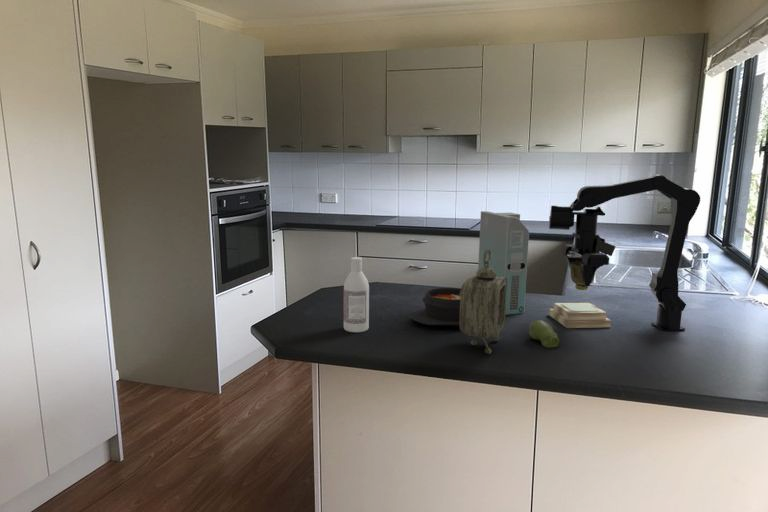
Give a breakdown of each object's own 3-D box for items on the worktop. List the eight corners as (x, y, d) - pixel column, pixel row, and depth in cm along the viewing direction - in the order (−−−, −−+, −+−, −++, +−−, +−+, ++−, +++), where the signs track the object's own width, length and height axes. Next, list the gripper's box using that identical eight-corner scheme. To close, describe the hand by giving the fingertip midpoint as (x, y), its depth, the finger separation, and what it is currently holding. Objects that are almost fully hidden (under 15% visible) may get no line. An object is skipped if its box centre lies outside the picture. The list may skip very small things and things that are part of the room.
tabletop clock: (493, 358, 137) (499, 255, 132) (457, 352, 140) (460, 252, 136) (504, 340, 150) (509, 246, 146) (470, 335, 153) (474, 243, 149)
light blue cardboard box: (524, 313, 176) (530, 216, 170) (502, 315, 173) (507, 217, 168) (496, 300, 191) (501, 210, 185) (476, 301, 188) (480, 211, 183)
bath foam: (350, 324, 162) (351, 254, 158) (372, 327, 159) (373, 257, 156) (339, 330, 156) (339, 258, 152) (361, 334, 153) (362, 261, 149)
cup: (565, 290, 165) (567, 263, 164) (570, 285, 172) (572, 259, 170) (592, 293, 162) (595, 266, 160) (596, 288, 168) (598, 261, 167)
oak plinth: (610, 327, 163) (611, 312, 162) (566, 327, 161) (567, 313, 160) (589, 314, 175) (590, 301, 175) (548, 314, 174) (549, 301, 173)
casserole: (466, 308, 180) (467, 282, 179) (505, 324, 164) (506, 296, 162) (397, 318, 169) (398, 290, 167) (431, 336, 152) (432, 306, 151)
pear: (544, 316, 153) (566, 333, 144) (541, 333, 155) (562, 351, 146) (526, 317, 151) (547, 335, 142) (523, 335, 153) (544, 353, 144)
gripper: (629, 235, 155) (624, 290, 158) (597, 226, 173) (593, 276, 176) (590, 235, 154) (586, 291, 157) (562, 226, 172) (558, 276, 175)
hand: (581, 283), depth 166 cm, fingers closed on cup, 6 cm apart
